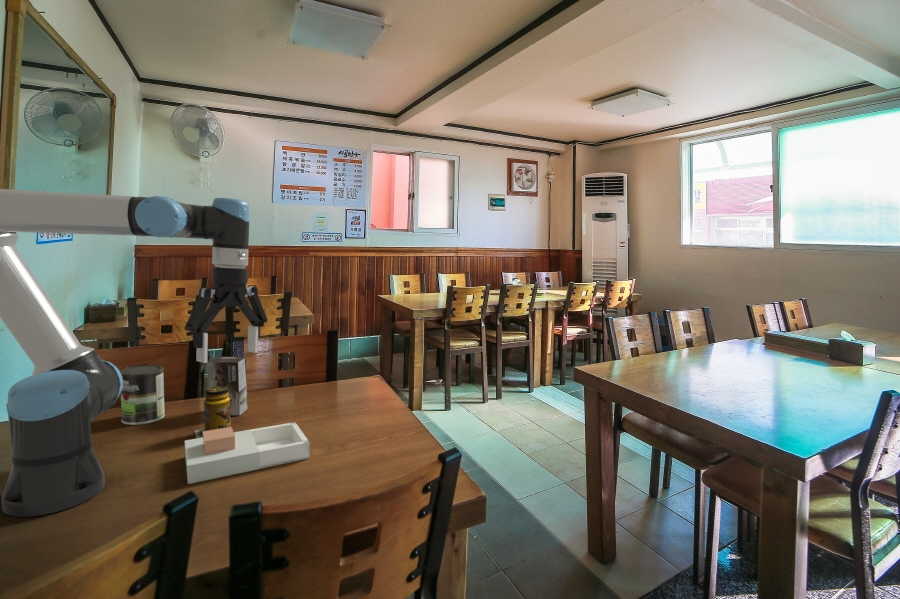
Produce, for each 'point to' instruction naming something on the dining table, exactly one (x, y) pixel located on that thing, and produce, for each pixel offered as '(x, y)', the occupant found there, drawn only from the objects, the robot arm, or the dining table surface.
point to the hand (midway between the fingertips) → (228, 356)
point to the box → (281, 444)
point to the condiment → (216, 410)
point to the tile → (218, 440)
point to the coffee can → (142, 394)
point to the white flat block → (221, 458)
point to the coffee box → (230, 380)
